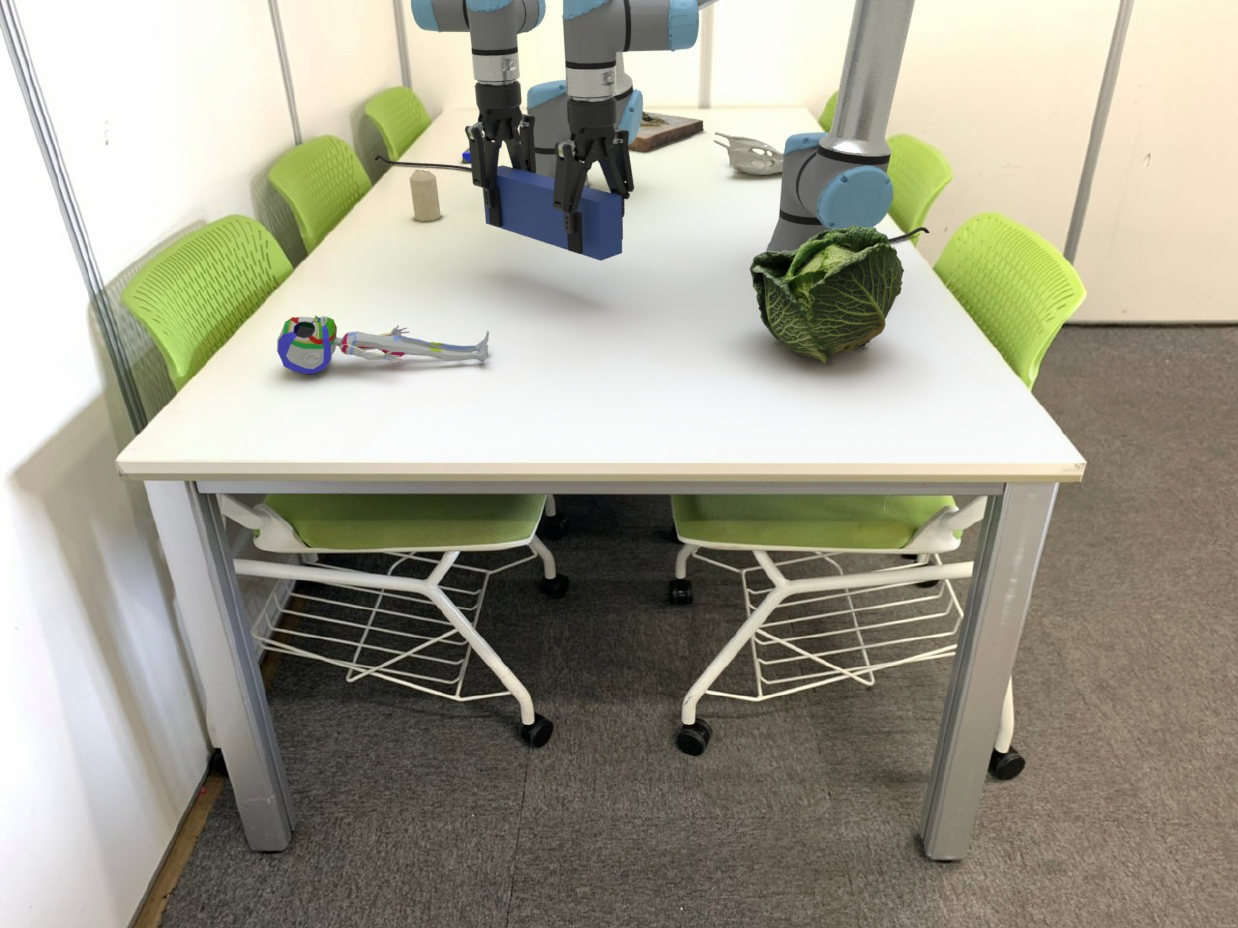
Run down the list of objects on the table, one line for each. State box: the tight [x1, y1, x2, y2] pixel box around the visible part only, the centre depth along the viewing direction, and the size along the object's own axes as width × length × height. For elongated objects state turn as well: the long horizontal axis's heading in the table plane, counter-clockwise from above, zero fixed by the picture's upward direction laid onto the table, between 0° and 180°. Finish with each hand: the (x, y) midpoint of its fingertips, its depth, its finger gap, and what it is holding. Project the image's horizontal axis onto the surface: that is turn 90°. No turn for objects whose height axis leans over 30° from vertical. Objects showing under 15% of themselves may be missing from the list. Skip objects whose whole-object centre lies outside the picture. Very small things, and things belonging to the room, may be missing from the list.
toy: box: [276, 314, 490, 375], centre depth 132 cm, size 10×8×30 cm
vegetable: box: [749, 225, 905, 365], centre depth 131 cm, size 20×19×20 cm
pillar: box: [461, 136, 485, 164], centre depth 243 cm, size 2×2×20 cm
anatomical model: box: [713, 131, 784, 176], centre depth 220 cm, size 15×9×25 cm
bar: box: [482, 164, 623, 262], centre depth 151 cm, size 29×5×9 cm, turn 46°
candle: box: [409, 169, 441, 222], centre depth 192 cm, size 6×6×10 cm
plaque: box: [628, 110, 705, 152], centre depth 257 cm, size 30×7×30 cm
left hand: (508, 221), depth 160 cm, fingers closed on bar, 5 cm apart
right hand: (595, 244), depth 146 cm, fingers open, 8 cm apart
